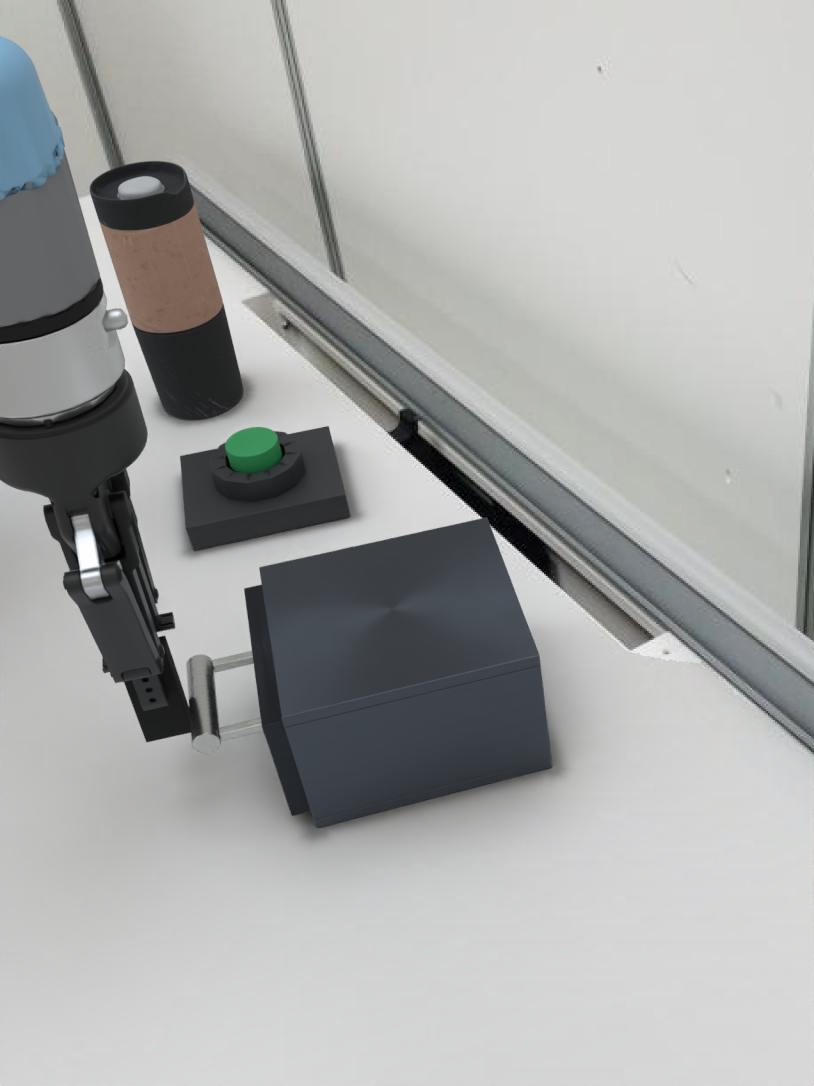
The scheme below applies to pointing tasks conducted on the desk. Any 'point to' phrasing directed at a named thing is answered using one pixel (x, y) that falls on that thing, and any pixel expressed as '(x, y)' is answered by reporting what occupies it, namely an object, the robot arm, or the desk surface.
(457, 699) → the cabinet
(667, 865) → the desk surface
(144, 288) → the travel mug
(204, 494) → the panel
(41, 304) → the robot arm
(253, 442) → the button
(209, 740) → the drawer
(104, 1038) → the desk surface
